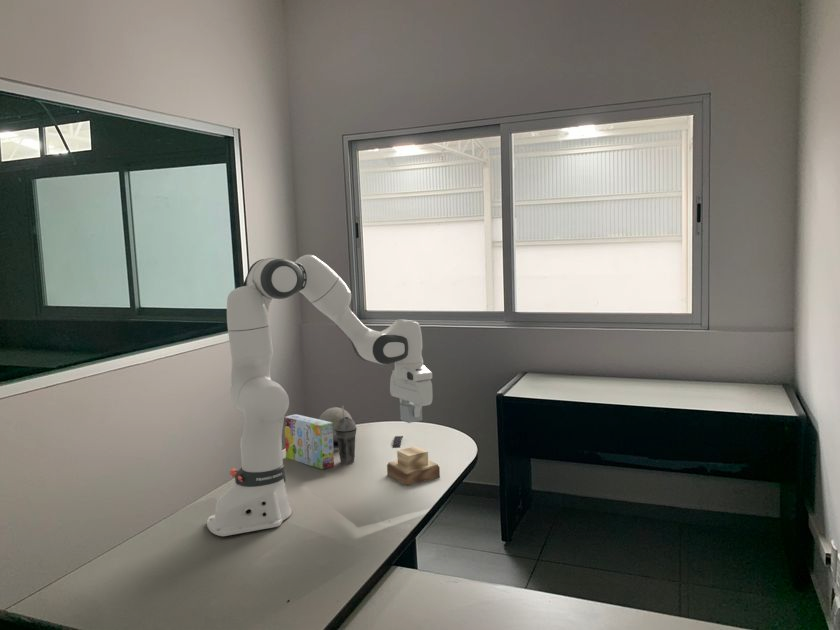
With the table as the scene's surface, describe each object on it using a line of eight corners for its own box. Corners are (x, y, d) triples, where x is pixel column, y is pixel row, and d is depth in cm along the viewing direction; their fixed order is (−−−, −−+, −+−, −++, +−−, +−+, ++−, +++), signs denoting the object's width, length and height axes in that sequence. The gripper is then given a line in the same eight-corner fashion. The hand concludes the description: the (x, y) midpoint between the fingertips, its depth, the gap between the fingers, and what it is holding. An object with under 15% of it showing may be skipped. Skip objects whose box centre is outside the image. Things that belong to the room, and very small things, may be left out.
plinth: (406, 485, 188) (406, 472, 188) (387, 474, 198) (386, 462, 198) (439, 477, 194) (439, 464, 194) (419, 467, 205) (419, 455, 204)
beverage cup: (362, 461, 213) (360, 403, 211) (349, 467, 207) (346, 408, 205) (345, 458, 217) (343, 401, 215) (332, 464, 211) (329, 405, 209)
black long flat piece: (382, 457, 218) (381, 448, 218) (389, 437, 243) (389, 429, 243) (407, 457, 218) (407, 447, 217) (412, 437, 243) (412, 428, 242)
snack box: (335, 466, 209) (333, 421, 208) (322, 470, 205) (320, 425, 204) (298, 454, 224) (295, 412, 222) (284, 458, 219) (282, 416, 218)
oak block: (409, 468, 191) (408, 456, 191) (397, 462, 197) (397, 450, 197) (428, 464, 195) (427, 451, 195) (416, 458, 201) (416, 446, 200)
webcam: (361, 445, 231) (359, 405, 230) (339, 455, 220) (337, 413, 219) (333, 441, 238) (331, 402, 237) (311, 450, 227) (309, 410, 226)
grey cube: (408, 423, 191) (408, 407, 191) (400, 419, 196) (399, 404, 195) (422, 420, 194) (421, 404, 194) (414, 417, 198) (413, 401, 198)
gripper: (384, 368, 201) (386, 410, 202) (417, 376, 183) (419, 422, 184) (401, 365, 204) (402, 407, 205) (435, 374, 187) (437, 419, 188)
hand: (411, 414), depth 195 cm, fingers closed on grey cube, 5 cm apart
